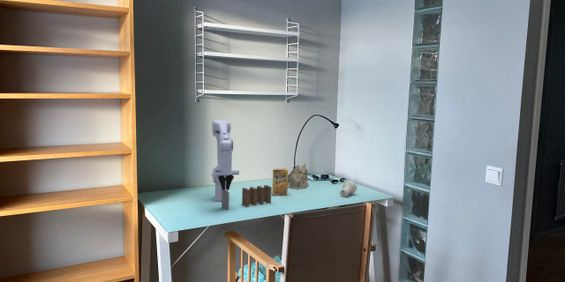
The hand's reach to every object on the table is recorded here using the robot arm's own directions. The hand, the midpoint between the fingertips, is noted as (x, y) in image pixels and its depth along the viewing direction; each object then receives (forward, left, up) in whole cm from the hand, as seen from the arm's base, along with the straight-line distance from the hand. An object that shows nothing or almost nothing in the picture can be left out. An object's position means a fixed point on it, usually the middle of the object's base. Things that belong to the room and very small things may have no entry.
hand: (225, 189), depth 215 cm
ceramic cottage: (-51, +42, -10) cm, 67 cm away
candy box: (-29, +30, -10) cm, 43 cm away
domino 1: (0, 0, -10) cm, 10 cm away
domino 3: (-8, +14, -10) cm, 19 cm away
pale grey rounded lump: (-30, +71, -10) cm, 78 cm away
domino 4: (-10, +18, -10) cm, 23 cm away
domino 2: (-6, +10, -10) cm, 16 cm away
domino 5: (-13, +22, -10) cm, 27 cm away
